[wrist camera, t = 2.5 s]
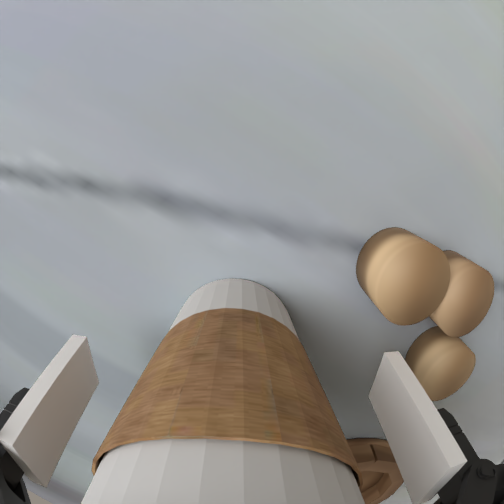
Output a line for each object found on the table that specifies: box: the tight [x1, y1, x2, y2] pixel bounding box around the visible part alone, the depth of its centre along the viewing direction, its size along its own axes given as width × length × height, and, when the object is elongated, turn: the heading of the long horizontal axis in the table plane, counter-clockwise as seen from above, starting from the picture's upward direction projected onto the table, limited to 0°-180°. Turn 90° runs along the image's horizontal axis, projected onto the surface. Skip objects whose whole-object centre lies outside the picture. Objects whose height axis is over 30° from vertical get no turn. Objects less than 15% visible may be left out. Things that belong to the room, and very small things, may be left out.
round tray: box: [347, 438, 404, 504], centre depth 20 cm, size 15×15×2 cm
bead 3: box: [405, 326, 476, 401], centre depth 15 cm, size 4×4×3 cm
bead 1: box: [356, 227, 450, 325], centre depth 13 cm, size 4×4×3 cm
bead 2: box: [429, 250, 494, 337], centre depth 14 cm, size 4×4×3 cm
